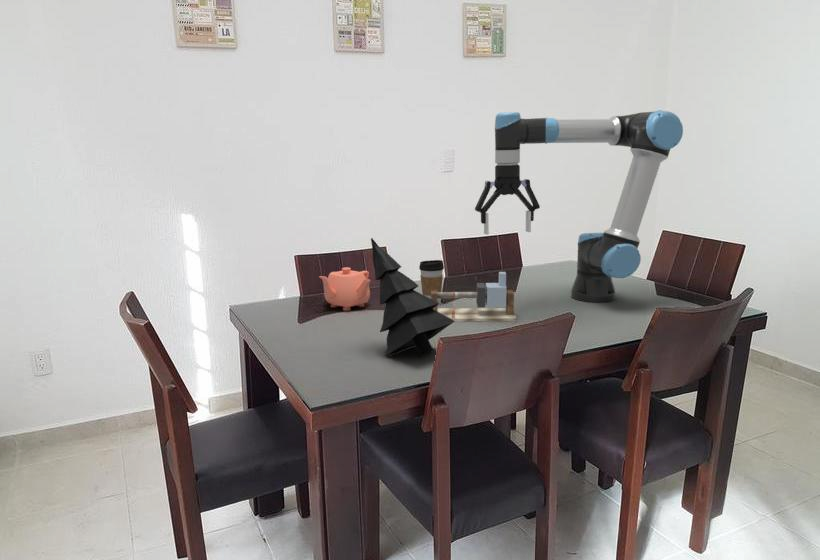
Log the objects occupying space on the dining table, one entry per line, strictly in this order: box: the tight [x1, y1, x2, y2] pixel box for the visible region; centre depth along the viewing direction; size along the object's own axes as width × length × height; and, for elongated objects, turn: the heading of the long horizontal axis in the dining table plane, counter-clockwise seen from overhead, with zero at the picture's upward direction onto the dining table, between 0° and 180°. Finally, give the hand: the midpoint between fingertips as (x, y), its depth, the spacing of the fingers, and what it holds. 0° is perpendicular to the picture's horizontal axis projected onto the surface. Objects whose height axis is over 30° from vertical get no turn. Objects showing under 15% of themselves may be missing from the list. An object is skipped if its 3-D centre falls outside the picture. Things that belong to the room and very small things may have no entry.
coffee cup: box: [418, 259, 445, 306], centre depth 215 cm, size 8×8×15 cm
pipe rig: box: [431, 289, 518, 323], centre depth 199 cm, size 27×12×8 cm, turn 87°
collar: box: [475, 282, 486, 308], centre depth 199 cm, size 2×6×6 cm, turn 178°
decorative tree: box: [370, 237, 455, 357], centre depth 167 cm, size 15×15×35 cm
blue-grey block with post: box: [485, 271, 508, 308], centre depth 198 cm, size 6×6×10 cm
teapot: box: [319, 266, 371, 312], centre depth 213 cm, size 16×17×14 cm
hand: (507, 232), depth 197 cm, fingers open, 13 cm apart
